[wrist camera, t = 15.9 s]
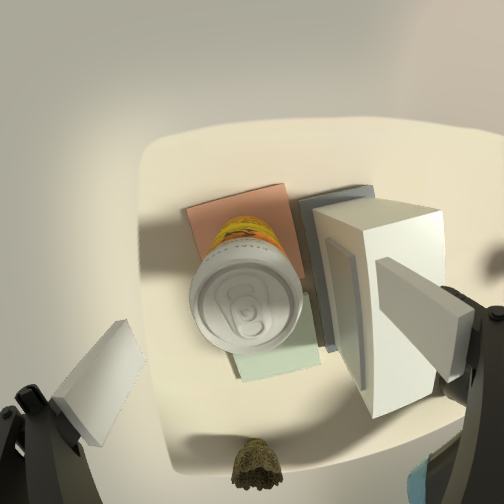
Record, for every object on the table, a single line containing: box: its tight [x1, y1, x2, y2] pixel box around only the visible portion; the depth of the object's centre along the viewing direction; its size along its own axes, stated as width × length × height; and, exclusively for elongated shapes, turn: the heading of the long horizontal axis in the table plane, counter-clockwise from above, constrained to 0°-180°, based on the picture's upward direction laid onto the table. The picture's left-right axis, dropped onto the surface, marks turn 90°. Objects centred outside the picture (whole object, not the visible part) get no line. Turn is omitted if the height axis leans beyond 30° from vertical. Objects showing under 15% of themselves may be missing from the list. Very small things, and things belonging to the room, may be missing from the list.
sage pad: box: [232, 292, 321, 382], centre depth 31 cm, size 10×10×1 cm
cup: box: [231, 439, 283, 491], centre depth 33 cm, size 8×7×8 cm
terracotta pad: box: [186, 183, 305, 279], centre depth 28 cm, size 10×10×1 cm
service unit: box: [297, 185, 445, 419], centre depth 23 cm, size 18×8×14 cm, turn 14°
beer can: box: [189, 216, 303, 355], centre depth 21 cm, size 6×6×15 cm
